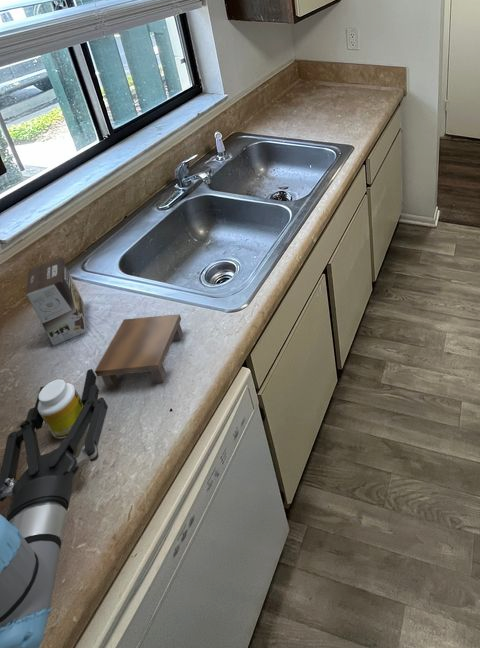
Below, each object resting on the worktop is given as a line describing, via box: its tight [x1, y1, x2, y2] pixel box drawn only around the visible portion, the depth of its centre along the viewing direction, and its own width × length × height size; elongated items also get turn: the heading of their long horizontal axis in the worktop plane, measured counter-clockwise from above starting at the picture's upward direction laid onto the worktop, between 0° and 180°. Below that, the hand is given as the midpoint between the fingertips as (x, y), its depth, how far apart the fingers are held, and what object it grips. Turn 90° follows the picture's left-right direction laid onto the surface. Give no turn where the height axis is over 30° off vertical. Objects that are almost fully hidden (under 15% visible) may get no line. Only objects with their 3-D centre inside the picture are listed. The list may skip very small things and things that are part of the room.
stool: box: [94, 313, 184, 389], centre depth 93 cm, size 12×12×6 cm
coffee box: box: [25, 256, 86, 346], centre depth 99 cm, size 9×6×16 cm
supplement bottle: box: [37, 379, 83, 439], centre depth 81 cm, size 6×6×10 cm
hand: (69, 382), depth 84 cm, fingers open, 7 cm apart
